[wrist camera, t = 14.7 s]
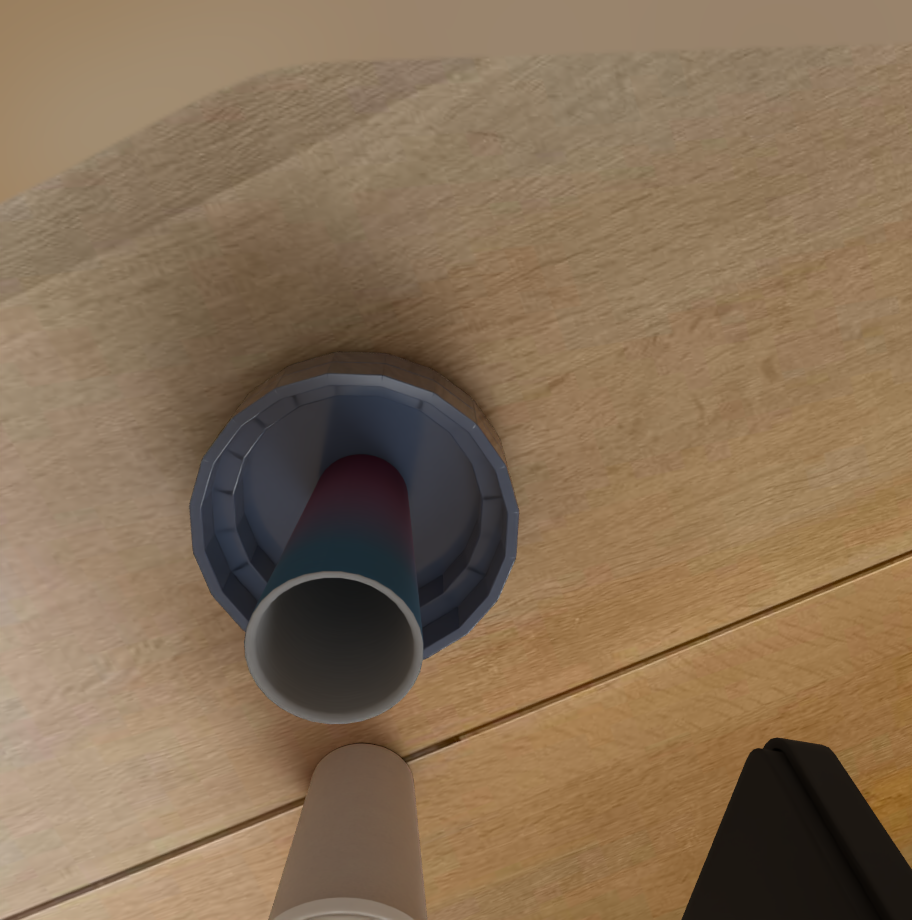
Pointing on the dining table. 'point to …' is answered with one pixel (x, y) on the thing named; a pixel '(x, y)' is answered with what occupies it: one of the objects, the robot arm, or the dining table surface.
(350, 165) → the dining table surface
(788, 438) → the dining table surface
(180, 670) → the dining table surface
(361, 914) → the coffee cup
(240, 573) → the bowl
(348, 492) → the cup
